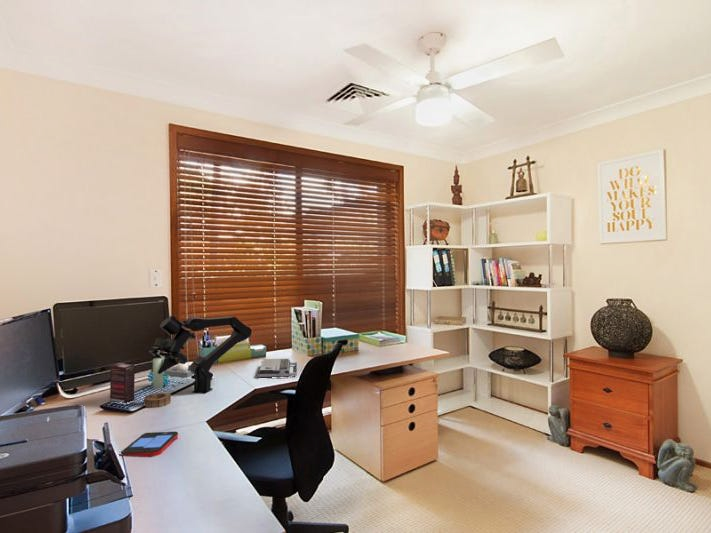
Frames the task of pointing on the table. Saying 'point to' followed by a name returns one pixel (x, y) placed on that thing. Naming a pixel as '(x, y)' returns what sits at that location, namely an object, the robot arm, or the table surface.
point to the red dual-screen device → (150, 444)
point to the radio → (276, 368)
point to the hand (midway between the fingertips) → (155, 372)
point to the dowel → (157, 377)
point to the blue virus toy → (163, 378)
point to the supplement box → (122, 382)
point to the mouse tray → (177, 372)
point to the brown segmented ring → (157, 399)
